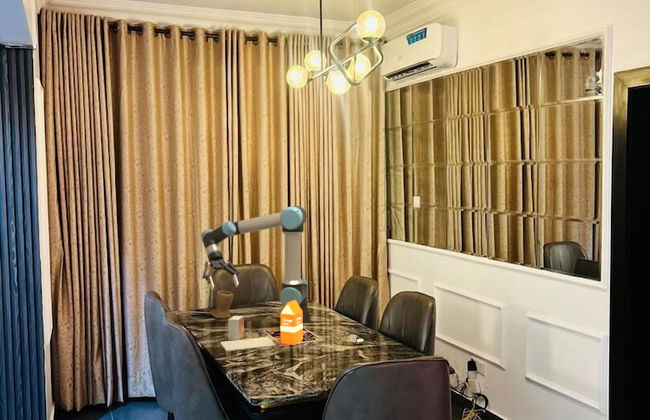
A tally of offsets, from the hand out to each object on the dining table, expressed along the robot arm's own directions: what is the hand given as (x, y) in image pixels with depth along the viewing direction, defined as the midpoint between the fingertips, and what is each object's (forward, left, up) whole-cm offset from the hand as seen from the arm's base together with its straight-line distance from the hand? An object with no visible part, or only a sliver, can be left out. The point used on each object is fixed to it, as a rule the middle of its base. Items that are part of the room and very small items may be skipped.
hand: (225, 287), depth 298 cm
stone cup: (-5, -34, -24) cm, 42 cm away
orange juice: (-27, +30, -24) cm, 46 cm away
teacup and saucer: (-55, +46, -24) cm, 75 cm away
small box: (-3, +14, -24) cm, 28 cm away
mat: (-6, +26, -24) cm, 36 cm away
